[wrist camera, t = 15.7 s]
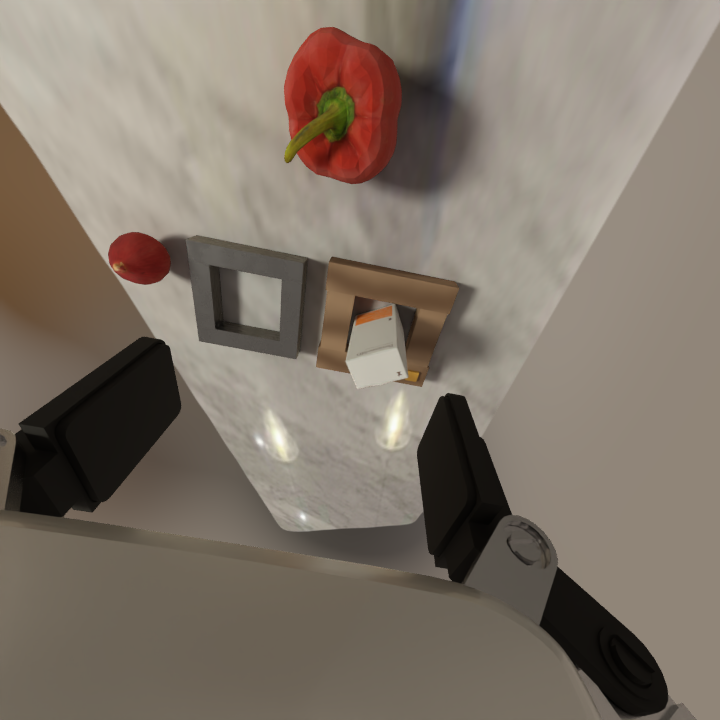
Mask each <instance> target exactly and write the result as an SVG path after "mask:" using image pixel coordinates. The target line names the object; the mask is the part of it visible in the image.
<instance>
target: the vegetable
mask: <svg viewBox="0 0 720 720" xmlns="http://www.w3.org/2000/svg"><path fill="white" fill-rule="evenodd" d="M284 95H285V105H286V109H287V112H288V116H289V131H290V136H291V141H290V143H289V145H288V146H287V148H286V151H285V157H284V159H285V162H286V163H289V162H291V161H292V159H293V158H294V156H295V155H296V153H297V154H298V156H299V158H300V159H301V160H302V162H303V163H304V164H305V165H306V167H308V168H309V169H310V170H312V171H313V172H314V173H316V174H317V175H322V176H326V177H330V178H333V179H336V180H339V181H342V182H346V183H350V184H358V183H363V182H365V181H368V180H370V179H372V178H373V177H375V176H376V175H377V174H379V173H380V172H381V171H382V170H383V169H384V168H385V167H386V165H387V164H388V162H389V161H390V159H391V157H392V155H393V153H394V150H395V146H396V141H397V119H398V115H399V112H400V108H401V101H402V89H401V84H400V79H399V75H398V73H397V70H396V68H395V65H394V62H393V60H392V59H391V58H390V57H389V56H387V55H386V54H385V53H384V52H383V51H381V50H380V49H379V48H378V47H377V46H375V45H372V44H369V43H364V42H362V41H360V40H358V39H356V38H354V37H352V36H350V35H348V34H347V33H345V32H343V31H341V30H340V29H337V28H335V27H326V28H320V29H318V30H317V31H315V32H313V33H312V34H310V36H309V37H308V38H307V39H306V40H305V42H304V43H303V44H302V45H301V47H300V48H299V50H298V51H297V53H296V54H295V56H294V58H293V60H292V62H291V64H290V66H289V69H288V72H287V76H286V80H285V85H284Z"/></svg>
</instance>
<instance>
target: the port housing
mask: <svg viewBox="0 0 720 720" xmlns="http://www.w3.org/2000/svg"><path fill="white" fill-rule="evenodd" d="M326 290H327V298H326V306H325V314H324V322H323V330H322V338H321V342H320V344H319V347H318V355H317V364H316V367H318V368H323V369H329V370H334V371H340V372H345V373H350V371H349V369H348V366H347V364H346V356H347V352H348V347H349V344H348V343H347V338H348V333H349V327H350V322H351V316H352V311H353V305H354V300H355V296H359V297H364V298H369V299H374V300H379V301H384V302H389V303H394V304H399V305H404V306H409V307H414V308H417V309H416V312H415V315H414V318H413V322H412V325H411V328H410V331H409V334H408V338H407V341H406V344H405V349H406V359H407V370H408V378H405V379H401V380H397V381H393V382H399V383H404V384H410V385H415V386H420V387H422V385H423V382H424V380H425V377H426V374H427V372H428V369H429V366H428V364H429V362H430V359H431V356H432V354H433V351H434V348H435V346H436V343H437V340H438V338H439V335H440V333H441V330H442V327H443V325H444V322H445V319H446V317H447V314H450V311H451V309H452V306H453V303H454V301H455V298H456V296H457V293H458V290H459V287H458V286H457V284H456V282H454V281H449V280H444V279H439V278H435V277H430V276H425V275H420V274H415V273H410V272H405V271H400V270H395V269H390V268H385V267H380V266H376V265H371V264H366V263H361V262H356V261H351V260H346V259H341V258H336V257H331V259H330V261H329V266H328V274H327V282H326ZM350 374H351V373H350Z"/></svg>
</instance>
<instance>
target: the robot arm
mask: <svg viewBox="0 0 720 720" xmlns="http://www.w3.org/2000/svg"><path fill="white" fill-rule="evenodd" d="M180 410H181V401H180V396H179V391H178V386H177V381H176V376H175V371H174V366H173V361H172V356H171V351H170V347H169V346H167V345H166V344H165V342H164V341H163V340H160V339H154V338H149V337H141V338H139V339H138V340H136V341H135V342H133V343H132V344H130V345H129V346H128V347H126V348H125V349H123V350H122V351H121V352H119V353H118V354H116V355H115V356H114V357H112V358H111V359H109V360H108V361H106V362H105V363H104V364H102V365H101V366H99V367H98V368H97V369H95V370H94V371H92V372H91V373H89V374H88V375H87V376H85V377H84V378H83V379H81V380H80V381H78V382H77V383H75V384H74V385H73V386H71V387H70V388H68V389H67V390H65V391H64V392H63V393H62V394H60V395H59V396H57V397H56V398H54V399H53V400H51V401H50V402H49V403H47V404H46V405H44V406H43V407H41V408H40V409H39V410H37V411H36V412H34V413H33V414H32V415H30V416H29V417H28V418H26V419H24V420H23V421H22V422H20V423H19V425H20V427H21V430H20V431H19V432H17V433H16V434H13V433H12V432H11V431H9V430H5V429H0V720H696V719H695V717H694V716H693V715H692V714H691V713H690V711H689V710H688V709H687V708H686V707H685V705H684V704H683V703H680V704H675V702H674V701H673V700H672V699H671V698H670V696H669V695H668V690H667V685H666V683H665V680H664V676H663V674H662V672H661V670H660V668H659V666H658V664H657V663H656V661H655V659H654V657H653V656H652V655H651V653H650V652H649V651H648V649H647V648H646V647H645V646H644V644H643V643H642V642H641V641H640V640H639V639H638V638H637V637H636V636H635V635H634V634H633V633H632V632H631V631H629V630H628V629H627V628H626V627H625V626H624V625H623V624H622V623H621V622H619V621H618V620H617V619H616V618H615V617H614V616H612V615H611V614H610V613H609V612H608V611H607V610H606V609H605V608H604V607H603V606H601V605H600V604H599V603H598V602H597V601H596V600H595V599H594V598H592V597H591V596H590V595H589V594H588V593H587V592H586V591H584V590H583V589H582V588H581V587H580V586H579V585H578V584H577V583H575V582H574V581H573V580H572V579H571V578H570V577H569V576H568V575H566V574H565V573H564V572H563V571H562V570H561V569H560V568H558V567H557V565H558V558H557V554H556V550H555V548H554V546H553V544H552V543H551V541H550V539H549V538H548V537H547V535H546V534H545V533H544V532H543V531H542V530H541V529H540V528H539V527H538V526H537V525H536V524H534V523H533V522H531V521H530V520H528V519H526V518H523V517H521V516H518V515H512V513H511V511H510V508H509V505H508V503H507V500H506V497H505V495H504V492H503V489H502V486H501V484H500V481H499V479H498V476H497V473H496V470H495V468H494V465H493V462H492V459H491V457H490V454H489V451H488V449H487V446H486V443H485V442H484V440H483V439H482V438H481V437H479V434H478V432H477V429H476V426H475V423H474V420H473V418H472V415H471V412H470V409H469V406H468V404H467V401H466V398H465V397H464V396H461V395H456V394H451V393H447V394H446V395H445V397H444V396H441V397H440V398H439V400H438V402H437V405H436V407H435V409H434V412H433V414H432V416H431V419H430V421H429V423H428V425H427V428H426V430H425V432H424V435H423V437H422V439H421V442H420V444H419V446H418V450H417V459H418V468H419V476H420V484H421V493H422V501H423V510H424V518H425V527H426V534H427V543H428V550H429V553H430V554H431V555H434V559H435V566H436V567H440V568H446V569H448V574H449V578H450V579H451V580H452V581H448V580H444V579H439V578H435V577H430V576H426V575H420V574H415V573H409V572H404V571H398V570H393V569H387V568H382V567H376V566H370V565H364V564H358V563H352V562H346V561H339V560H333V559H327V558H321V557H315V556H308V555H302V554H296V553H290V552H284V551H278V550H271V549H265V548H258V547H252V546H246V545H240V544H233V543H227V542H220V541H213V540H208V539H201V538H194V537H188V536H182V535H176V534H169V533H162V532H156V531H148V530H143V529H136V528H129V527H122V526H116V525H110V524H103V523H96V522H89V521H83V520H76V519H69V518H64V515H65V513H67V511H68V510H69V509H70V508H71V507H72V508H73V509H74V510H80V511H86V512H93V511H94V510H95V509H96V508H97V506H98V505H99V504H100V503H101V502H104V501H106V500H108V499H109V498H110V497H111V495H113V493H114V492H115V491H116V489H117V488H118V487H119V486H120V485H121V483H122V482H123V481H124V480H125V479H126V478H127V476H128V475H129V474H130V473H131V471H132V470H133V469H134V468H135V467H136V465H137V464H138V463H139V462H140V460H141V459H142V458H143V457H144V456H145V454H146V453H147V452H148V451H149V450H150V448H151V447H152V446H153V445H154V443H155V442H156V441H157V440H158V439H159V437H160V436H161V435H162V434H163V432H164V431H165V430H166V429H167V428H168V426H169V425H170V424H171V423H172V421H173V420H174V419H175V418H176V417H177V416H178V414H179V412H180Z"/></svg>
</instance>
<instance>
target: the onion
mask: <svg viewBox="0 0 720 720" xmlns="http://www.w3.org/2000/svg"><path fill="white" fill-rule="evenodd" d="M108 256H109V263H110V265H111V267H112V268H113V270H114V271H115V272H116V273H117V274H118V275H119V276H120V277H122V278H123V279H126V280H129V281H131V282H134V283H138V284H144V285H147V284H152V283H156V282H159V281H161V280H162V279H163V278H164V277H165V276H166V275H167V274H168V273H169V269H170V265H171V261H170V256H169V254H168V252H167V250H166V248H165V247H164V246H163V245H162V244H161V243H160V242H159V241H157V240H156V239H154V238H153V237H151V236H149V235H146V234H142V233H139V232H131V233H127V234H123V235H121V236H119V237H118V238H117V239H116V240H115V241H114V242H113V243H112V244H111V245H110V249H109V253H108Z"/></svg>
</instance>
